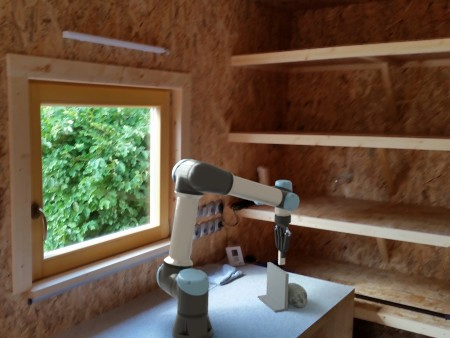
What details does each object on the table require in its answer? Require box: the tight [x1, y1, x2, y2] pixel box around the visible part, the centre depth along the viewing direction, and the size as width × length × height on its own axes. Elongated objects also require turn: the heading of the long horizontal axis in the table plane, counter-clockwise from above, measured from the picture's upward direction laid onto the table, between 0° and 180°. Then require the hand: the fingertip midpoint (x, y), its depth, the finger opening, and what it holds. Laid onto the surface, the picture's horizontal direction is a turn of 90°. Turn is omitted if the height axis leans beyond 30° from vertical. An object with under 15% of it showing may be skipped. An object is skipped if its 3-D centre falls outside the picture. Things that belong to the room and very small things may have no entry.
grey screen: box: [257, 261, 290, 313], centre depth 201 cm, size 6×16×16 cm, turn 23°
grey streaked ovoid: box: [288, 282, 308, 309], centre depth 203 cm, size 14×10×10 cm
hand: (281, 264), depth 214 cm, fingers closed
